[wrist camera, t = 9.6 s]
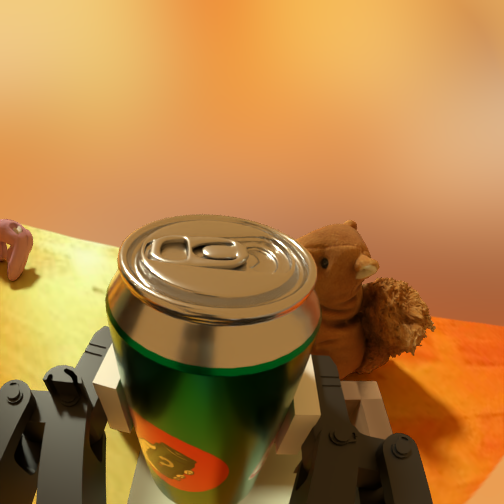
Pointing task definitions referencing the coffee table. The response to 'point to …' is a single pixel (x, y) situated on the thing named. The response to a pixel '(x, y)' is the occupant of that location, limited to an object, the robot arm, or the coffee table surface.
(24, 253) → the video game controller
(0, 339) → the coffee table surface
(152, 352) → the soda can
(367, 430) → the brown wooden angled piece
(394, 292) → the stuffed squirrel
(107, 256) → the coffee table surface
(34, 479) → the robot arm
